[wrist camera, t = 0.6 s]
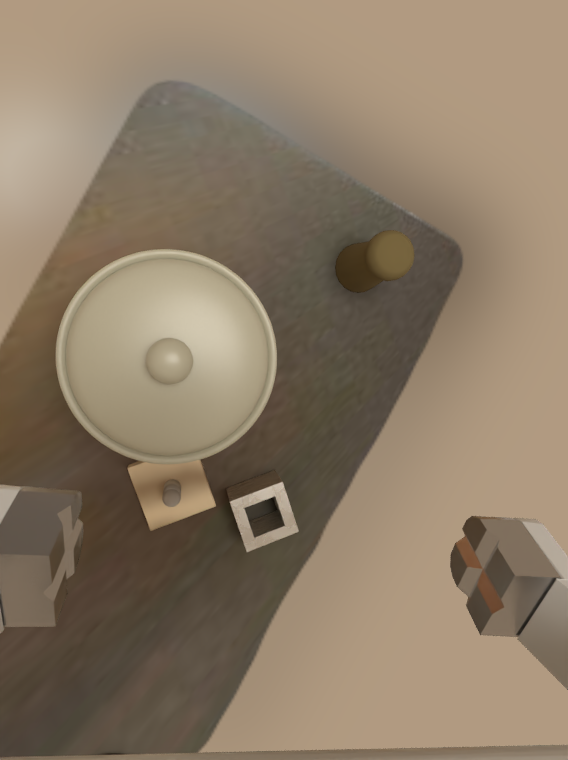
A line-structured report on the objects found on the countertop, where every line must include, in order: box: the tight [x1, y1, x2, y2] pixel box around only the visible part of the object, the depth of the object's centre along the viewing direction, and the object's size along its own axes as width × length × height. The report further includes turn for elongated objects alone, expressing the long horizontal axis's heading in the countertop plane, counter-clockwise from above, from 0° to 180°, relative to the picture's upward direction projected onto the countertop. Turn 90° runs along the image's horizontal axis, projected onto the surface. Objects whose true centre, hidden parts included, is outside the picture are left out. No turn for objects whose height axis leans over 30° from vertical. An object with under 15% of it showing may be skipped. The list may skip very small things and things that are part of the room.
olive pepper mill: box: [335, 230, 414, 293], centre depth 54 cm, size 6×6×11 cm
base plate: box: [127, 460, 216, 530], centre depth 54 cm, size 8×8×6 cm
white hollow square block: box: [226, 470, 299, 552], centre depth 57 cm, size 6×6×5 cm
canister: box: [56, 249, 277, 464], centre depth 45 cm, size 18×18×21 cm
